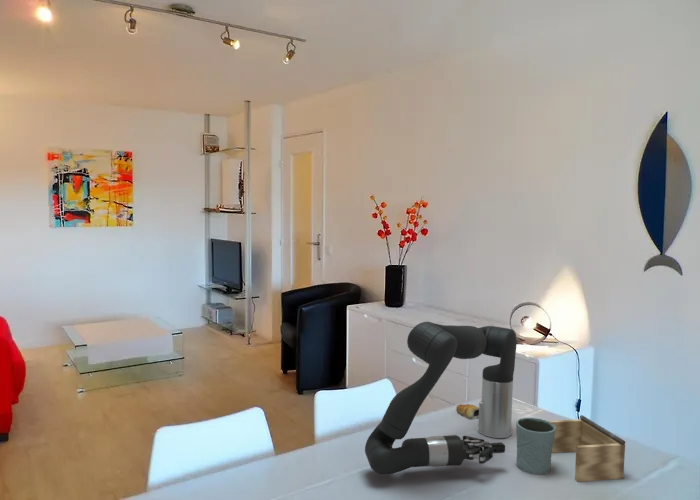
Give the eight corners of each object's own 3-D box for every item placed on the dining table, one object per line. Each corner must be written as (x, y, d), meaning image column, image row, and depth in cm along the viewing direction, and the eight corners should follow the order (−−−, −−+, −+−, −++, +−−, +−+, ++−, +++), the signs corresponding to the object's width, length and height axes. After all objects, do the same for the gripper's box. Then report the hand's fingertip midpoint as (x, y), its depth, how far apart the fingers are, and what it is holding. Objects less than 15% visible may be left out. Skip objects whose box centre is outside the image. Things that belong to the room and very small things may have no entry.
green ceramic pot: (525, 456, 160) (527, 414, 159) (560, 468, 153) (562, 424, 152) (507, 467, 153) (509, 423, 152) (542, 480, 146) (544, 434, 145)
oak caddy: (577, 481, 145) (579, 443, 144) (540, 451, 163) (541, 417, 162) (623, 478, 147) (625, 440, 147) (581, 449, 165) (583, 415, 165)
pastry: (451, 412, 195) (451, 401, 195) (465, 409, 198) (466, 398, 198) (470, 420, 187) (470, 409, 187) (485, 417, 190) (485, 406, 190)
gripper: (451, 447, 141) (516, 443, 144) (434, 427, 153) (493, 424, 157) (450, 476, 141) (515, 472, 144) (433, 454, 154) (492, 450, 157)
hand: (503, 447), depth 150 cm, fingers closed
